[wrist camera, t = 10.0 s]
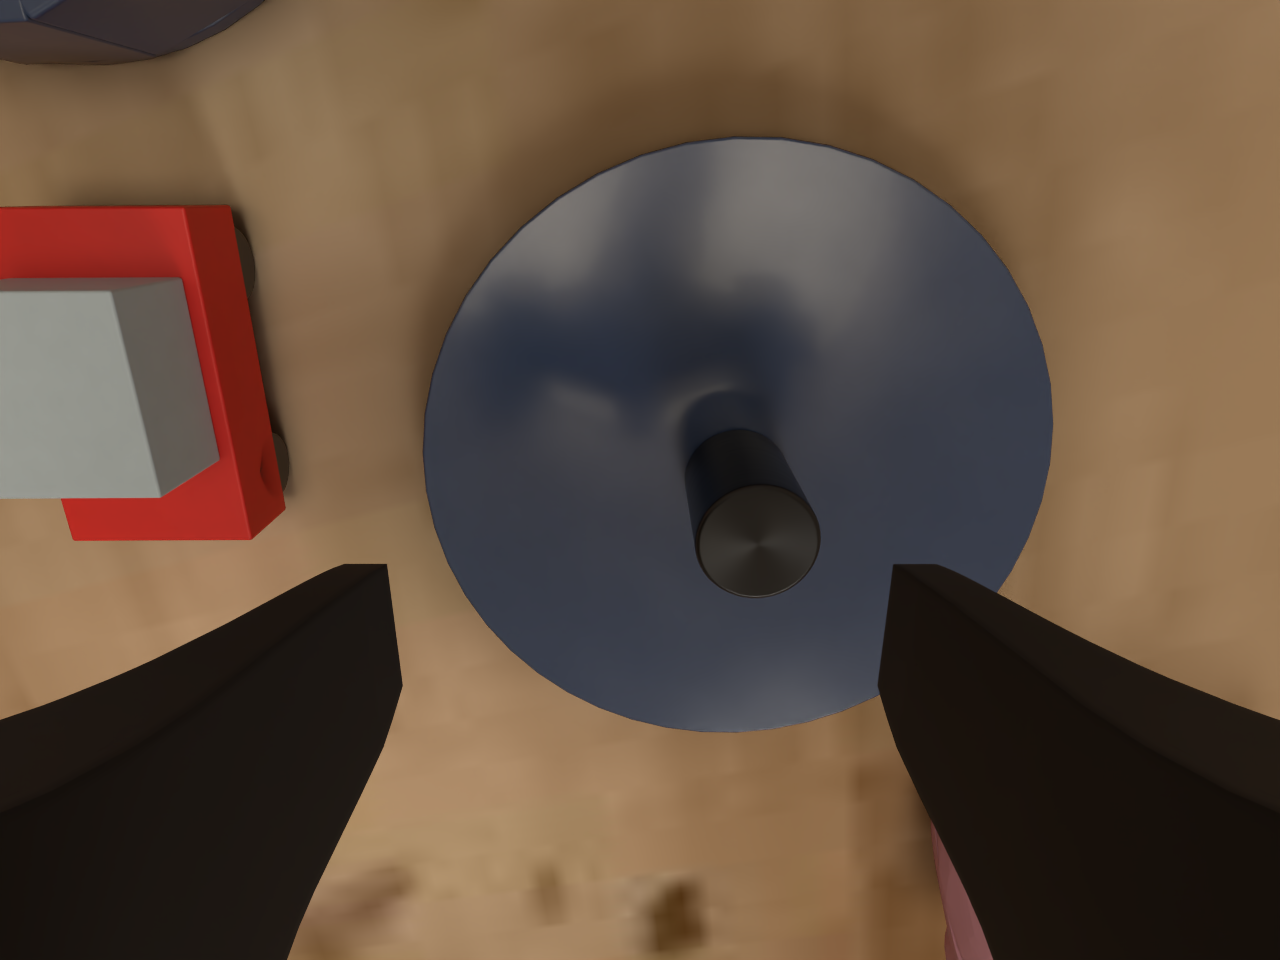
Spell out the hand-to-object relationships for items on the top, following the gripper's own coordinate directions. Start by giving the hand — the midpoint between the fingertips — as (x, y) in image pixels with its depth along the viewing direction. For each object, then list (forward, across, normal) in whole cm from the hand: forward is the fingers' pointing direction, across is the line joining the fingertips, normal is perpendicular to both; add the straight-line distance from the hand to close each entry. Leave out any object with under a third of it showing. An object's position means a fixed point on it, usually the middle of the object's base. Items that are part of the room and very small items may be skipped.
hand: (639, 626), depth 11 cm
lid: (+8, +2, 0) cm, 8 cm away
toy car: (+8, -11, +2) cm, 14 cm away
